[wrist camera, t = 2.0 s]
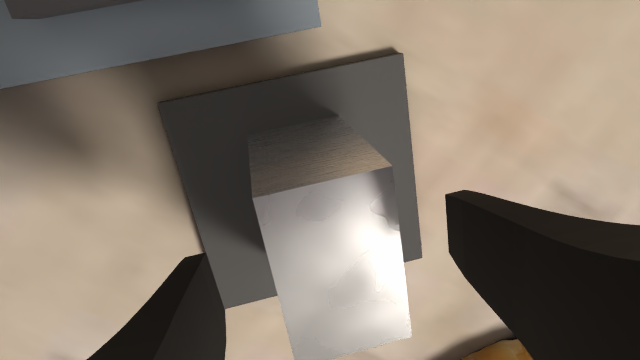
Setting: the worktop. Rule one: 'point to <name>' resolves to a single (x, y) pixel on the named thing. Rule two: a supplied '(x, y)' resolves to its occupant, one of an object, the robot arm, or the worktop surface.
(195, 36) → the pallet
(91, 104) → the worktop surface
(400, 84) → the mat
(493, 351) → the pastry
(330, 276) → the metal billet
